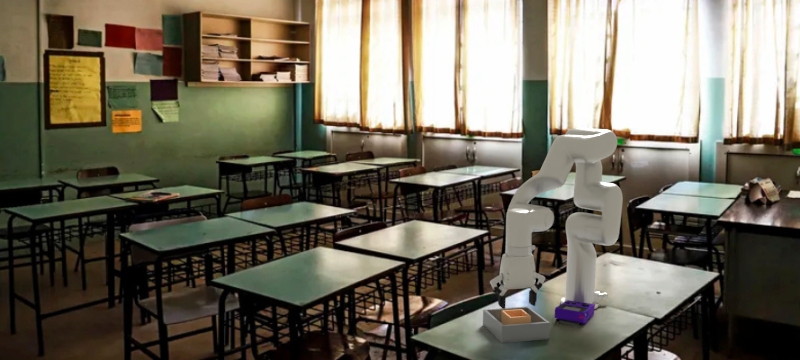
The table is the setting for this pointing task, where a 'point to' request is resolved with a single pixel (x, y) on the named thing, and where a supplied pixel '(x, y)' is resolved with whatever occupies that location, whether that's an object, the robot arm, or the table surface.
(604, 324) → the table surface
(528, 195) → the robot arm
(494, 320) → the grey square tray
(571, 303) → the handheld gaming console
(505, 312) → the orange crate
